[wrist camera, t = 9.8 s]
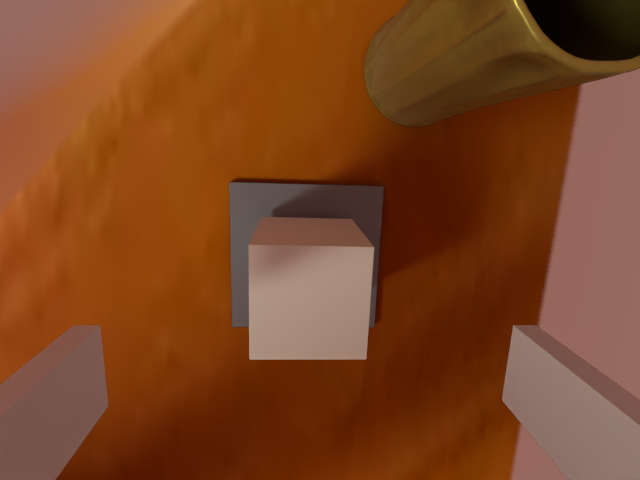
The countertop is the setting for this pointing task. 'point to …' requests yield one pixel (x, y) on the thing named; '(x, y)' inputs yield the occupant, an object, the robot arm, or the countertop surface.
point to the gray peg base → (296, 203)
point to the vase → (494, 53)
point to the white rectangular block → (309, 289)
